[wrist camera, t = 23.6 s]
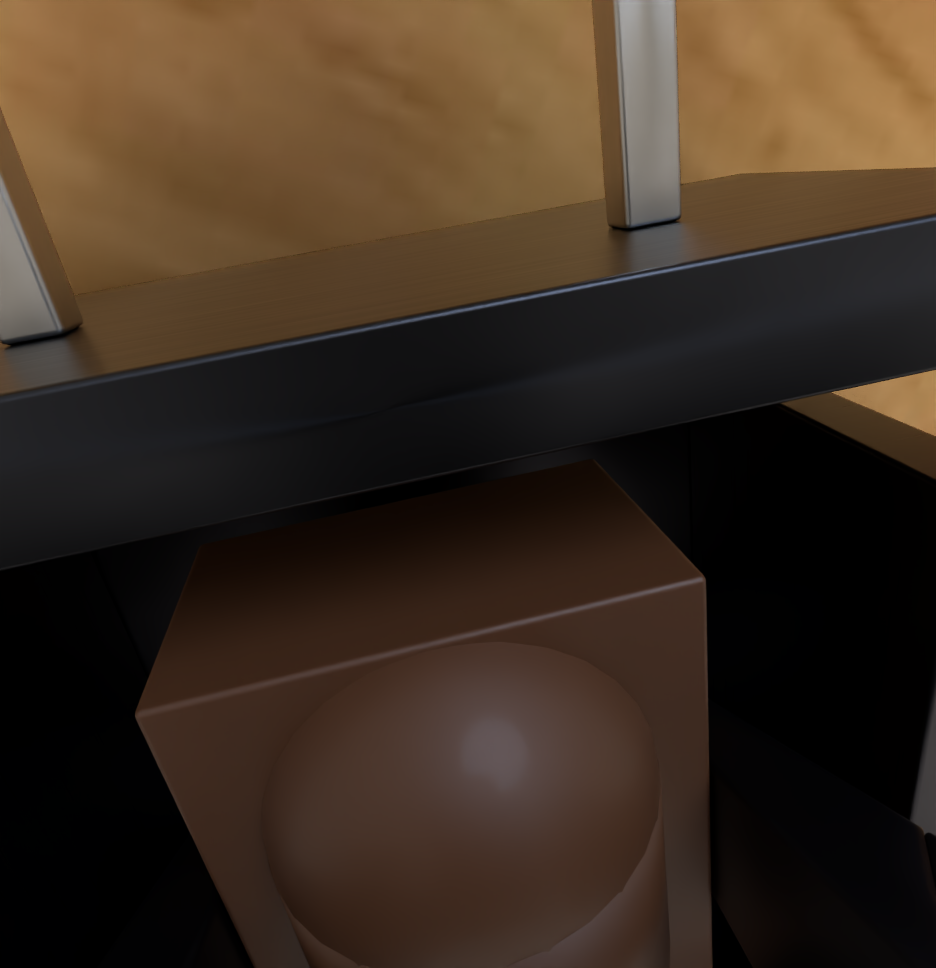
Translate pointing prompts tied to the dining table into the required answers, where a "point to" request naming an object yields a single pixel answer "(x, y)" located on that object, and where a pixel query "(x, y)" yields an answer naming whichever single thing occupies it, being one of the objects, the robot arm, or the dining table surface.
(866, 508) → the drawer
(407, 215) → the dining table surface
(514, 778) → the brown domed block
